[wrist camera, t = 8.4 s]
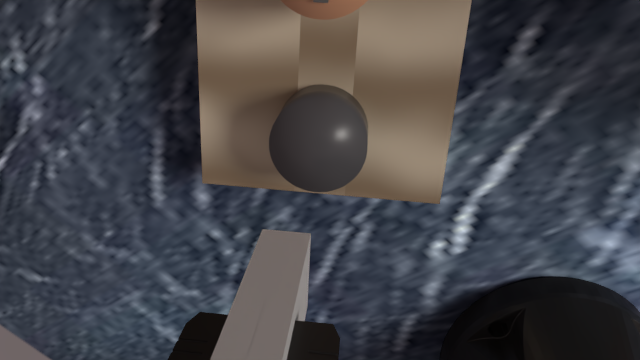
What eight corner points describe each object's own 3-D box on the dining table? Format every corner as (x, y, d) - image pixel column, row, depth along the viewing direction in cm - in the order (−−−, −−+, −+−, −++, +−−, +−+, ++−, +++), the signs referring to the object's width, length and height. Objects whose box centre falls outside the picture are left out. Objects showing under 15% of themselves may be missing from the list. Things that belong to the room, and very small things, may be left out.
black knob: (365, 150, 34) (363, 196, 28) (287, 143, 35) (268, 187, 28) (372, 72, 32) (371, 102, 26) (290, 66, 33) (269, 94, 26)
